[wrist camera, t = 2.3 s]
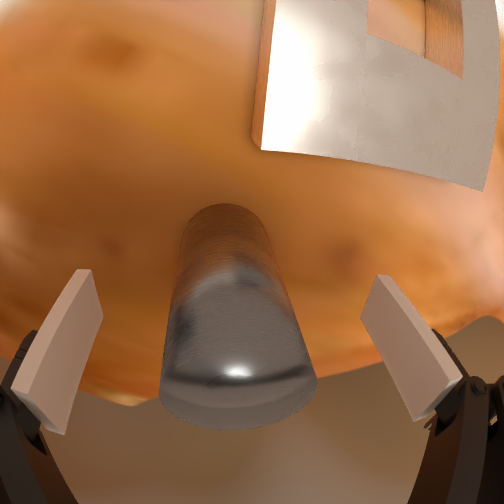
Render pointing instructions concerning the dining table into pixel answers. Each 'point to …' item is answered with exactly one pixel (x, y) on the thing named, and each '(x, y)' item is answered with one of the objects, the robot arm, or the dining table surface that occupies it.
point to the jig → (380, 88)
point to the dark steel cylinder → (232, 329)
